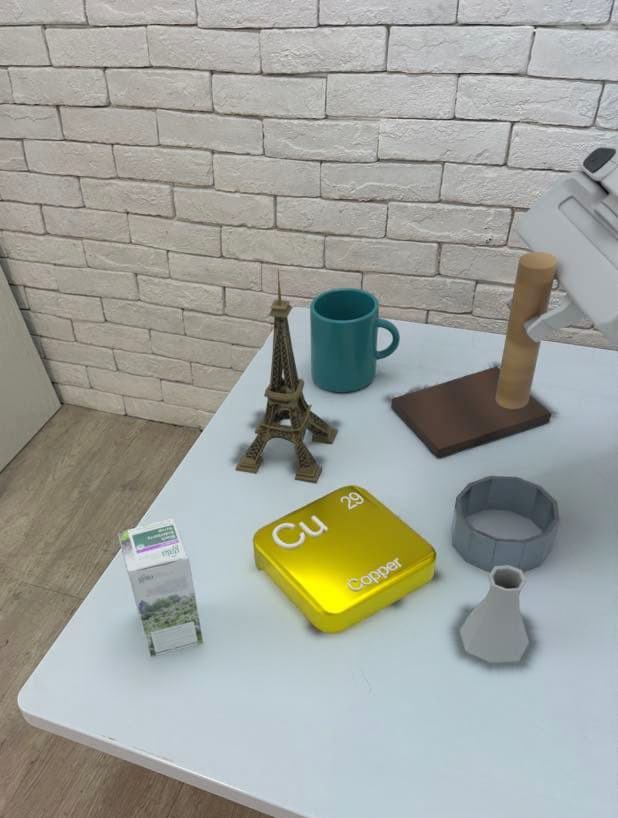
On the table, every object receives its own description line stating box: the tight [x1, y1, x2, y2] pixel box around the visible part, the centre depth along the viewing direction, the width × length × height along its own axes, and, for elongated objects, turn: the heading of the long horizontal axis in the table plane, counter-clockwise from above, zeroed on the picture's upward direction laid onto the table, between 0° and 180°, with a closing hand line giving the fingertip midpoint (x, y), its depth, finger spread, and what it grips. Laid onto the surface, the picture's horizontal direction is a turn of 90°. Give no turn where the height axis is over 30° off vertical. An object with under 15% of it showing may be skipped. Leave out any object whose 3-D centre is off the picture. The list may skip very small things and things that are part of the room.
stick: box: [495, 251, 557, 409], centre depth 76 cm, size 3×3×15 cm
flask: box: [459, 565, 530, 664], centre depth 76 cm, size 7×7×10 cm
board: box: [390, 365, 552, 459], centre depth 104 cm, size 16×12×2 cm
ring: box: [450, 475, 561, 574], centre depth 86 cm, size 10×10×6 cm
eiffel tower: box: [235, 268, 338, 484], centre depth 95 cm, size 11×11×25 cm
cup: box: [309, 287, 401, 393], centre depth 110 cm, size 9×12×11 cm
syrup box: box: [117, 517, 204, 657], centre depth 79 cm, size 6×6×14 cm
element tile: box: [252, 484, 437, 635], centre depth 86 cm, size 15×15×5 cm
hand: (519, 322), depth 75 cm, fingers closed on stick, 3 cm apart
